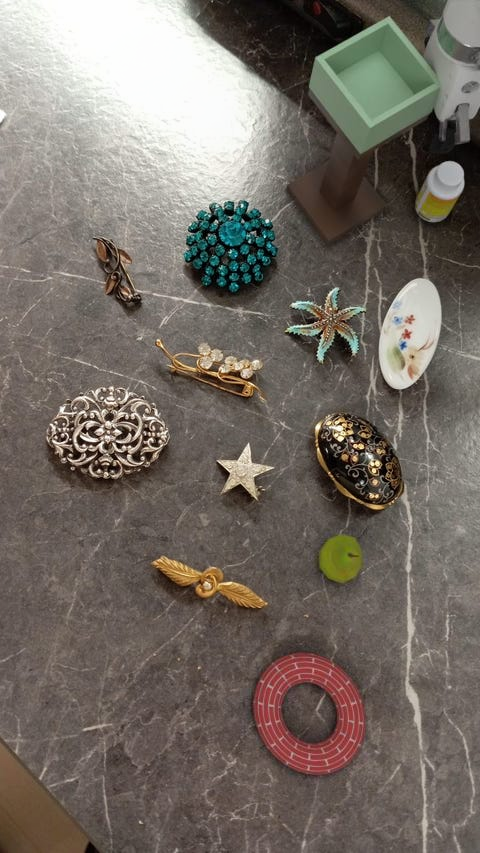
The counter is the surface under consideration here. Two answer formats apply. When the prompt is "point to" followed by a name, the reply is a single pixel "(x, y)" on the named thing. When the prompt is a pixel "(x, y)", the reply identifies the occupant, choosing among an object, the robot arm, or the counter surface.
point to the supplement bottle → (440, 191)
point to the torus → (279, 738)
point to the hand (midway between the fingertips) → (431, 117)
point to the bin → (374, 84)
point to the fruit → (341, 558)
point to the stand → (339, 186)
